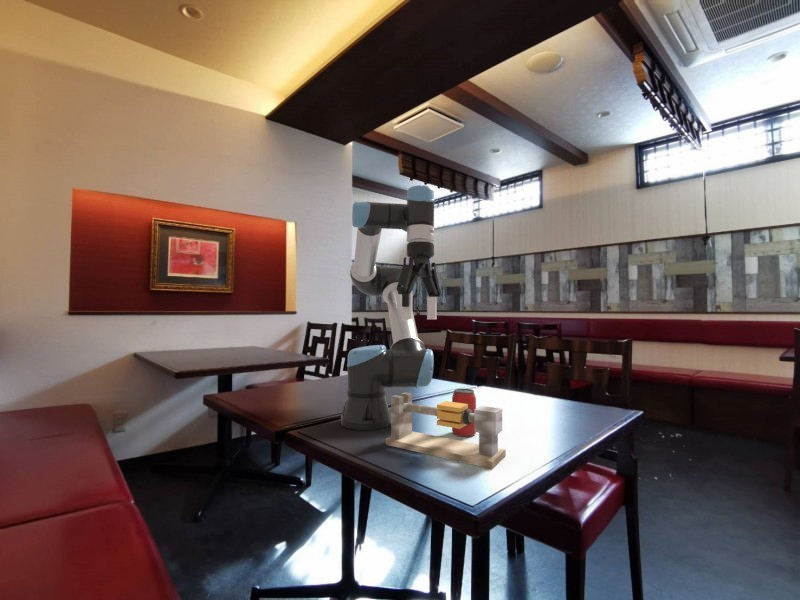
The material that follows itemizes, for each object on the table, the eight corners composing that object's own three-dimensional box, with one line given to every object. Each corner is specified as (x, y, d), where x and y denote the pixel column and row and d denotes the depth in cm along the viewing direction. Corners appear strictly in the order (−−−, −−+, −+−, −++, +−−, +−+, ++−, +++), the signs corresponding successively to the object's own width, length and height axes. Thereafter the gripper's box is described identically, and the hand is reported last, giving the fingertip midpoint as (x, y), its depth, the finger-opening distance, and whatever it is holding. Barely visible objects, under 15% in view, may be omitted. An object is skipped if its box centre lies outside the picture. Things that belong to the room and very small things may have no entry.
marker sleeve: (436, 424, 92) (436, 404, 93) (445, 420, 96) (445, 401, 97) (459, 429, 89) (459, 408, 89) (467, 424, 93) (467, 404, 93)
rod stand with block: (385, 444, 98) (385, 397, 98) (404, 435, 105) (404, 391, 106) (492, 469, 82) (492, 412, 83) (505, 456, 90) (505, 404, 91)
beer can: (447, 431, 109) (447, 389, 109) (467, 429, 111) (467, 387, 112) (460, 438, 103) (460, 393, 103) (480, 435, 105) (480, 391, 106)
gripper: (408, 233, 94) (408, 320, 93) (452, 248, 115) (452, 319, 114) (383, 236, 98) (382, 319, 97) (429, 250, 119) (429, 319, 118)
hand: (420, 319), depth 106 cm, fingers open, 13 cm apart
